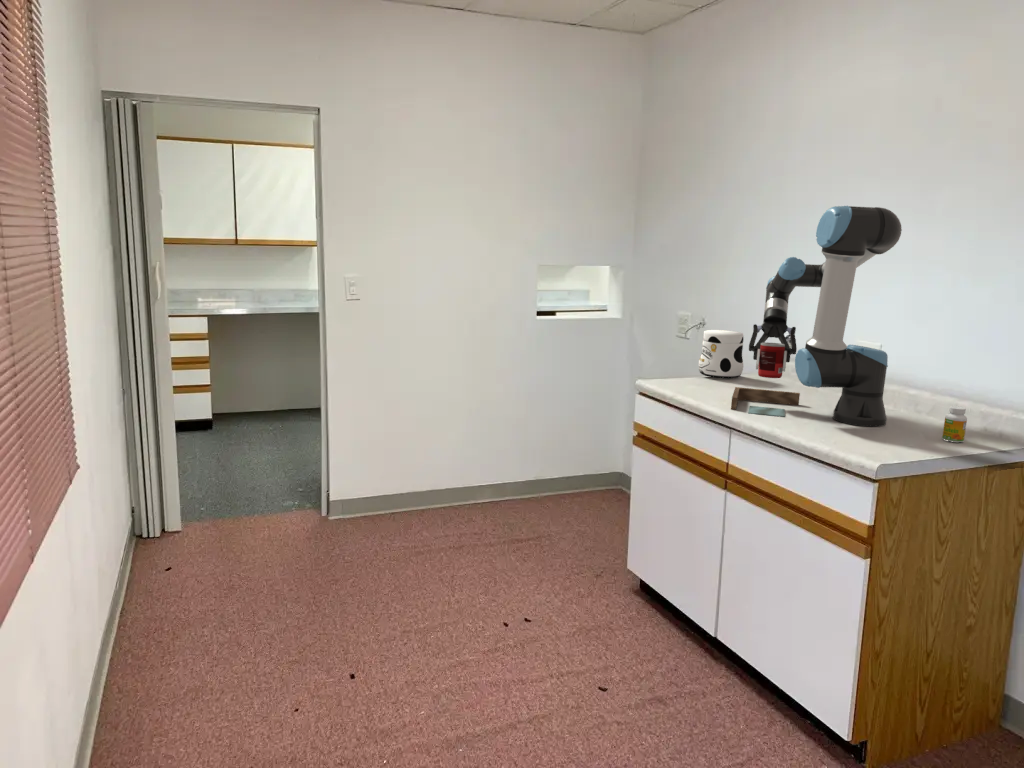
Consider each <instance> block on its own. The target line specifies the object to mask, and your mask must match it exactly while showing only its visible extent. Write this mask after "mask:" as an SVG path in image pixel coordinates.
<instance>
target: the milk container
mask: <svg viewBox="0 0 1024 768" xmlns="http://www.w3.org/2000/svg"><path fill="white" fill-rule="evenodd" d="M701 347H702V349H701V355H700V357H699V359H698V372H699V373H700V374H701V375H703V376H705V377H708V378H714V379H723V380H725V379H726V380H727V379H735V378H739V377H741V376H742V374H743V371H744V360H743V349H744V333H743V332H742V331H741V332H740V331H735V330H727V329H726V330H722V329H708V330H707V329H706V330H704V331H703V334H702V346H701Z"/></svg>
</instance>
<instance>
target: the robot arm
mask: <svg viewBox="0 0 1024 768" xmlns="http://www.w3.org/2000/svg"><path fill="white" fill-rule="evenodd" d="M902 231H903V229H902V223H901V221H900V218H899V217H898V216H897V215H896V214H895V213H894V212H893V211H892V210H890V209H888V208H885V207H880V206H878V207H877V206H876V207H872V206H871V207H870V206H854V205H853V206H852V205H850V206H849V205H841V206H840V205H838V206H831V207H830V208H828V209H827V210H826V211H825V212H824V213H823V214H822V215H821V217H820V218H819V220H818V224H817V227H816V232H815V236H816V239H815V240H816V243H817V245H818V246H819V247H821V254H823V256H824V258H825V262H823V263H822V264H809V263H808V264H807V263H806V264H805V261H804V260H802V259H800V258H797V257H796V256H791V257H787V258H786V259H784V261H783V262H782V263H781V265H780V266H779V267H778V270H777V273H776V275H774V276H772V277H770V278H769V279H768V280H767V285H766V288H765V289H766V293H765V303H764V309H763V310H764V314H763V322H762V324H761V325H757V324H756V323H754V324H753V328H752V330H753V332H752V335H751V337H750V341H749V344H748V351H749V352H753V356H752V358H753V360H754V361H756V362H755V370H758V368H759V357H760V346H761V343H766V341H767V340H768V338H775V339H778V340H779V342H780V344H785V351H784V361H783V373H784V372H786V368H787V366H786V365H787V363H790V361H791V355H795V358H794V367H795V368H794V369H795V373H796V376H797V379H798V380H799V382H800V383H801V384H802V385H803V386H805V387H809V388H810V387H811V388H817V389H819V388H841V395H840V397H839V399H838V401H837V403H836V405H835V408H834V409H833V413H832V419H833V420H835V421H837V422H840V423H842V424H847V425H852V426H861V427H883V426H886V424H887V414H886V408H885V403H884V399H883V398H884V392H885V391H884V390H885V384H886V376H887V369H888V366H889V365H888V362H889V361H888V358H889V357H888V356H889V355H888V353H887V352H886V351H884V350H881V349H877V348H873V347H868V346H863V345H859V344H857V345H856V344H848V345H847V344H846V343H845V342H844V336H845V330H846V326H847V320H848V314H849V309H850V303H851V298H852V293H853V288H854V283H855V277H856V271H857V268H859V267H860V266H861V265H863V264H865V263H866V262H867V261H869V260H870V259H872V258H873V257H875V256H876V255H883V254H885V253H887V252H888V251H890V250H891V249H892V248H894V247H895V246H896V244H897V243H898V242H899V240H900V238H901V235H902ZM796 287H801V288H803V287H805V288H806V287H807V288H820V291H819V298H818V303H817V309H816V315H815V321H814V325H813V331H812V336H811V337H810V338H808V339H807V340H806V341H805V347H802V348H800V349H798V350H797V348H798V347H797V339H796V331H797V330H796V329H797V328H796V326H792V327H789V326H788V324H787V321H788V311H789V310H788V309H789V299H790V298H789V297H790V296H791V294H792V293H793V291H794V290H795V288H796ZM760 331H762V332H763V334H762V335H761V337H760V338H759V340H758V341H757V343H756V340H757V337H758V333H760ZM786 332H788V335H789V337H790V339H789V340H790V344H789V343H788V340H787V338H786V337H785V334H786Z"/></svg>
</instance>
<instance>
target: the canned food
mask: <svg viewBox="0 0 1024 768" xmlns="http://www.w3.org/2000/svg"><path fill="white" fill-rule="evenodd" d="M784 351H785V344H781V342H780V343H778V342H764V343H761V346H760V357H759V367H758V369H757V373H758V377H760V378H765V379H767V378H768V379H781V378H782V376H783V373H784V371H783V361H784Z"/></svg>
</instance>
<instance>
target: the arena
mask: <svg viewBox="0 0 1024 768" xmlns="http://www.w3.org/2000/svg"><path fill="white" fill-rule="evenodd" d="M800 396H801V393H800V392H795V391H794V392H793V391H785V390H784V391H782V390H772V389H771V390H770V389H759V388H752V387H751V388H749V387H738V386H735V387H734V390H733V393H732V396H731V405H730V406H731V407H730V410H734V411H735V410H737V406H738V403H739V401H749V402H750V401H752V402H761V403H762V402H763V403H770V404H771V403H772V404H782V405H792V406H793V405H794V406H800V405H799V404H800ZM785 411H786V409H784V408H777V407H769V406H768V407H766V406H758V405H757V406H756V405H749V406H748V410H747V413H748V414H751V415H761V416H770V417H771V416H772V417H779V416H780V417H781V418H785V416H786V414H785V413H786V412H785Z"/></svg>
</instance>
